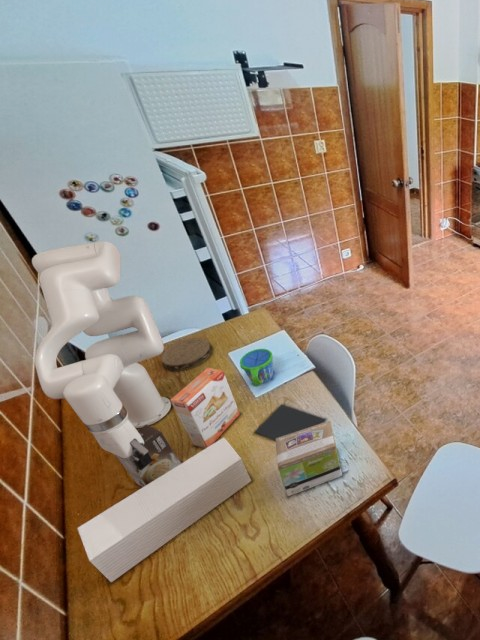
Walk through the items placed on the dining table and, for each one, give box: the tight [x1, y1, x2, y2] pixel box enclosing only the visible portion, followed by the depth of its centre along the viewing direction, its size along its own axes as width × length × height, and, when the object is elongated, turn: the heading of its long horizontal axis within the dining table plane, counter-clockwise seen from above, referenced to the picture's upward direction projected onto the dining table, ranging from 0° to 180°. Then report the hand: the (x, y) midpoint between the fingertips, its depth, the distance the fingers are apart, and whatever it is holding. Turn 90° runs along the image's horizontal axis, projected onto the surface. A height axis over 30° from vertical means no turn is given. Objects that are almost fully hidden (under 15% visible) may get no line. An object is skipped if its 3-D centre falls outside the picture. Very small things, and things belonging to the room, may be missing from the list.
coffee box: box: [115, 425, 182, 488], centre depth 108 cm, size 9×6×16 cm
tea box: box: [274, 420, 343, 497], centre depth 111 cm, size 15×10×15 cm
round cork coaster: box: [160, 337, 212, 372], centre depth 153 cm, size 16×16×3 cm
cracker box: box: [169, 367, 241, 449], centre depth 121 cm, size 14×6×21 cm, turn 168°
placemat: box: [254, 404, 326, 441], centre depth 128 cm, size 18×12×1 cm, turn 72°
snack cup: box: [239, 348, 274, 387], centre depth 143 cm, size 16×10×10 cm
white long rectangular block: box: [77, 437, 252, 583], centre depth 101 cm, size 32×11×11 cm, turn 142°
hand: (136, 460), depth 105 cm, fingers closed on coffee box, 6 cm apart
